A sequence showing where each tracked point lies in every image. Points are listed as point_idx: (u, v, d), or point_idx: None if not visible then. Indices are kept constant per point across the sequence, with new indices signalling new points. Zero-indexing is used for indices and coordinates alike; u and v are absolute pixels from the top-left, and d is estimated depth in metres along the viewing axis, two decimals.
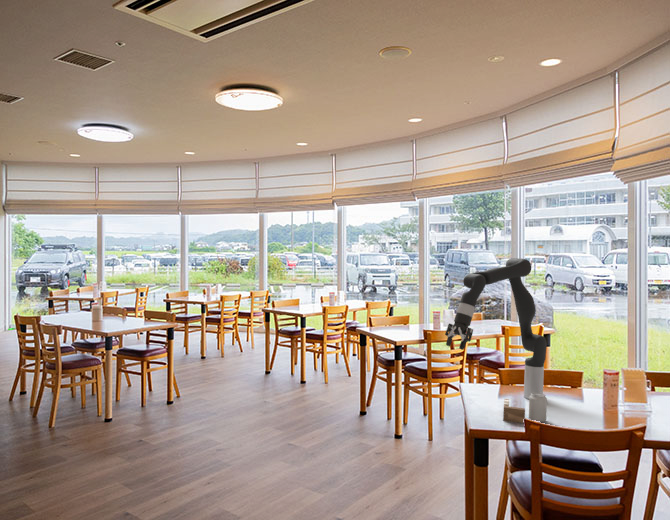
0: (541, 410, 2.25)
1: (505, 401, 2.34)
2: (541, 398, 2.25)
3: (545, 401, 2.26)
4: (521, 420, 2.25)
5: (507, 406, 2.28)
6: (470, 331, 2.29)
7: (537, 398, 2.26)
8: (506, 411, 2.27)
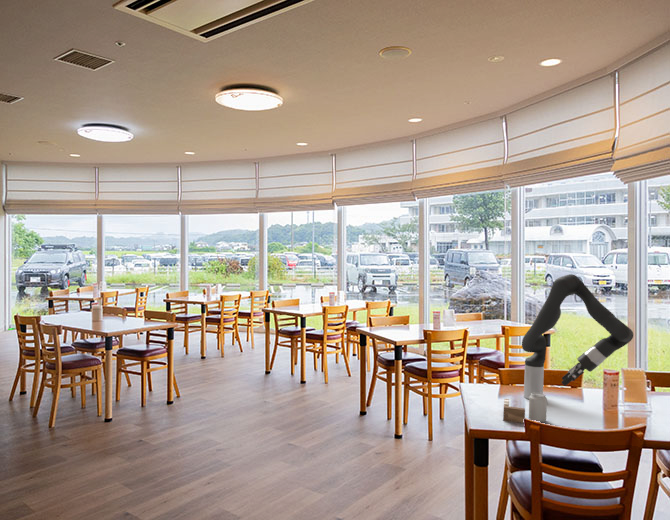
0: (541, 410, 2.25)
1: (505, 401, 2.34)
2: (541, 398, 2.25)
3: (545, 401, 2.26)
4: (521, 420, 2.25)
5: (507, 406, 2.28)
6: None
7: (537, 398, 2.26)
8: (506, 411, 2.27)
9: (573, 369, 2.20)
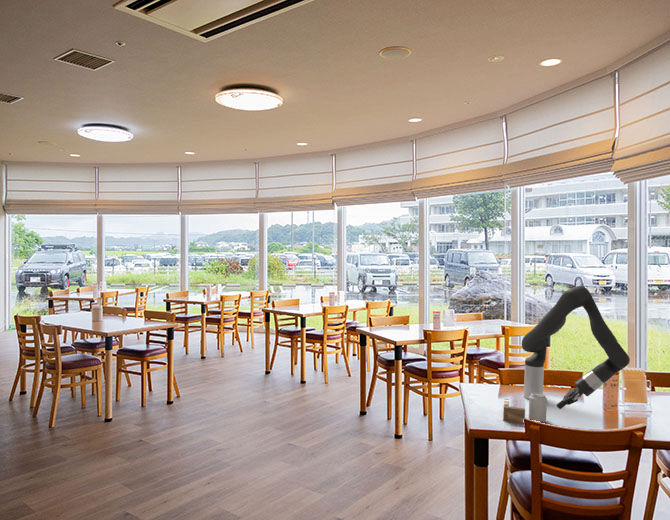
0: (541, 410, 2.25)
1: (505, 401, 2.34)
2: (541, 398, 2.25)
3: (545, 401, 2.26)
4: (521, 420, 2.25)
5: (507, 406, 2.28)
6: None
7: (537, 398, 2.26)
8: (506, 411, 2.27)
9: (569, 394, 2.22)
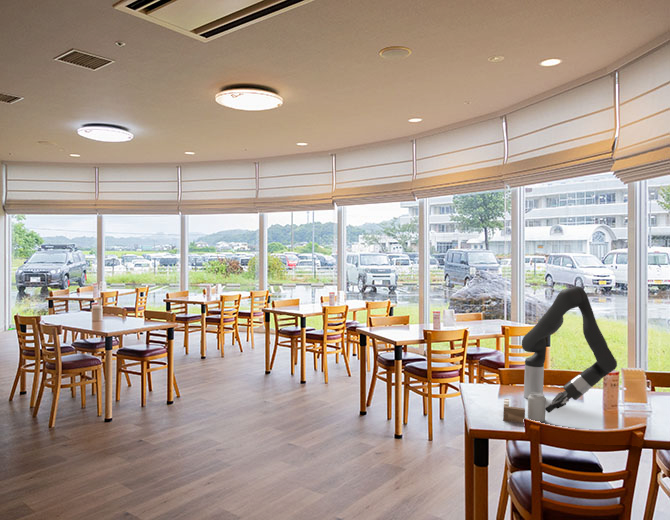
0: (540, 410, 2.25)
1: (505, 401, 2.34)
2: (540, 398, 2.25)
3: (544, 401, 2.26)
4: (521, 420, 2.25)
5: (507, 406, 2.28)
6: None
7: (536, 398, 2.26)
8: (506, 411, 2.27)
9: (558, 397, 2.24)
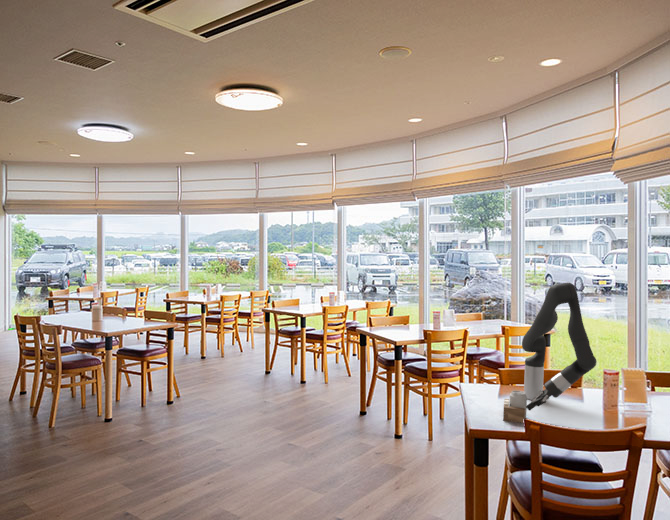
0: None
1: (505, 401, 2.34)
2: (521, 396, 2.28)
3: (525, 399, 2.28)
4: (521, 420, 2.25)
5: (507, 406, 2.28)
6: None
7: (517, 396, 2.28)
8: (506, 411, 2.27)
9: (538, 395, 2.27)
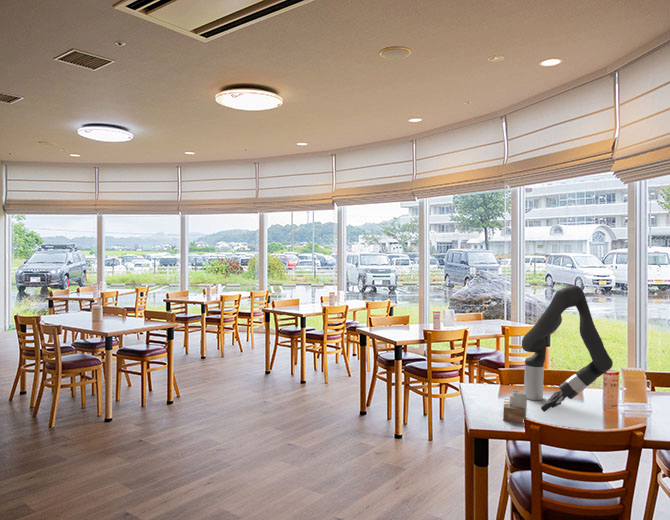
0: None
1: (505, 401, 2.34)
2: (521, 396, 2.28)
3: (525, 399, 2.28)
4: (521, 420, 2.25)
5: (507, 406, 2.28)
6: None
7: (517, 396, 2.28)
8: (506, 411, 2.27)
9: (553, 397, 2.25)
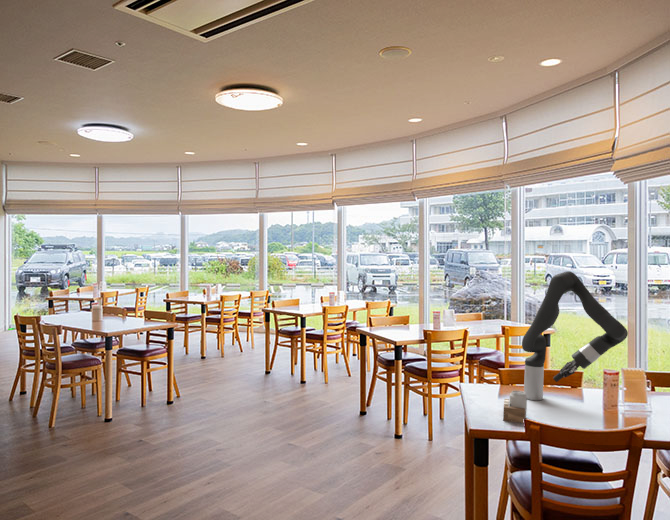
0: None
1: (505, 401, 2.34)
2: (521, 396, 2.28)
3: (525, 399, 2.28)
4: (521, 420, 2.25)
5: (507, 406, 2.28)
6: None
7: (517, 396, 2.28)
8: (506, 411, 2.27)
9: (566, 366, 2.23)
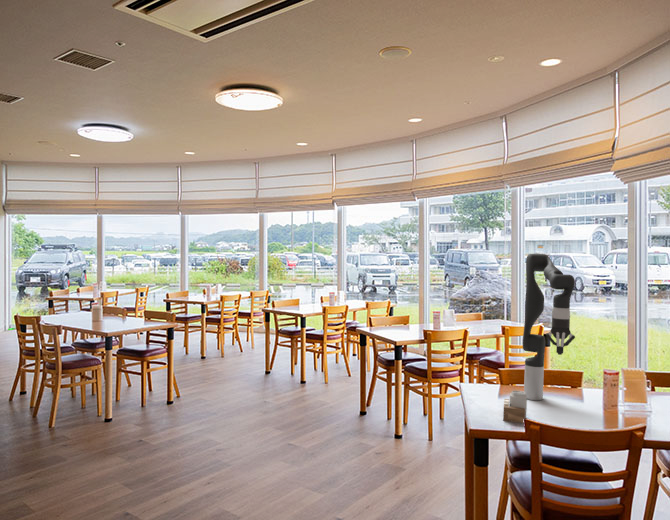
0: None
1: (505, 401, 2.34)
2: (521, 396, 2.28)
3: (525, 399, 2.28)
4: (521, 420, 2.25)
5: (507, 406, 2.28)
6: None
7: (517, 396, 2.28)
8: (506, 411, 2.27)
9: None
